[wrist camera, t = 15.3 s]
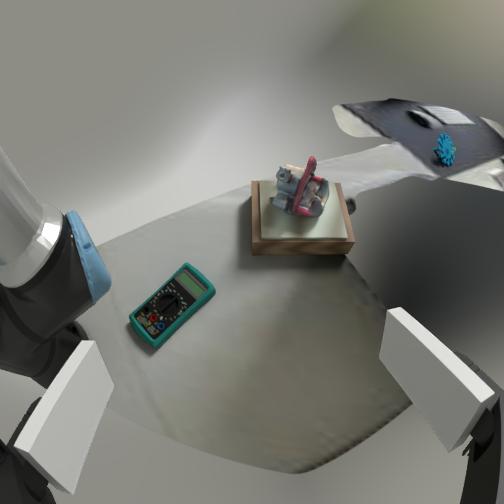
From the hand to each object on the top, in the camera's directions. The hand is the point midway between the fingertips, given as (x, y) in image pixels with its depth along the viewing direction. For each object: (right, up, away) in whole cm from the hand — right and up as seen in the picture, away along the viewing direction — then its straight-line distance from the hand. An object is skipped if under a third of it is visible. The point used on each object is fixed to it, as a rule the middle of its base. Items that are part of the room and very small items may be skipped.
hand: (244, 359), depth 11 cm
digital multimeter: (-13, -5, +35) cm, 37 cm away
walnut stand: (+9, +10, +43) cm, 45 cm away
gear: (+60, +34, +57) cm, 89 cm away
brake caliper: (+9, +14, +39) cm, 42 cm away
